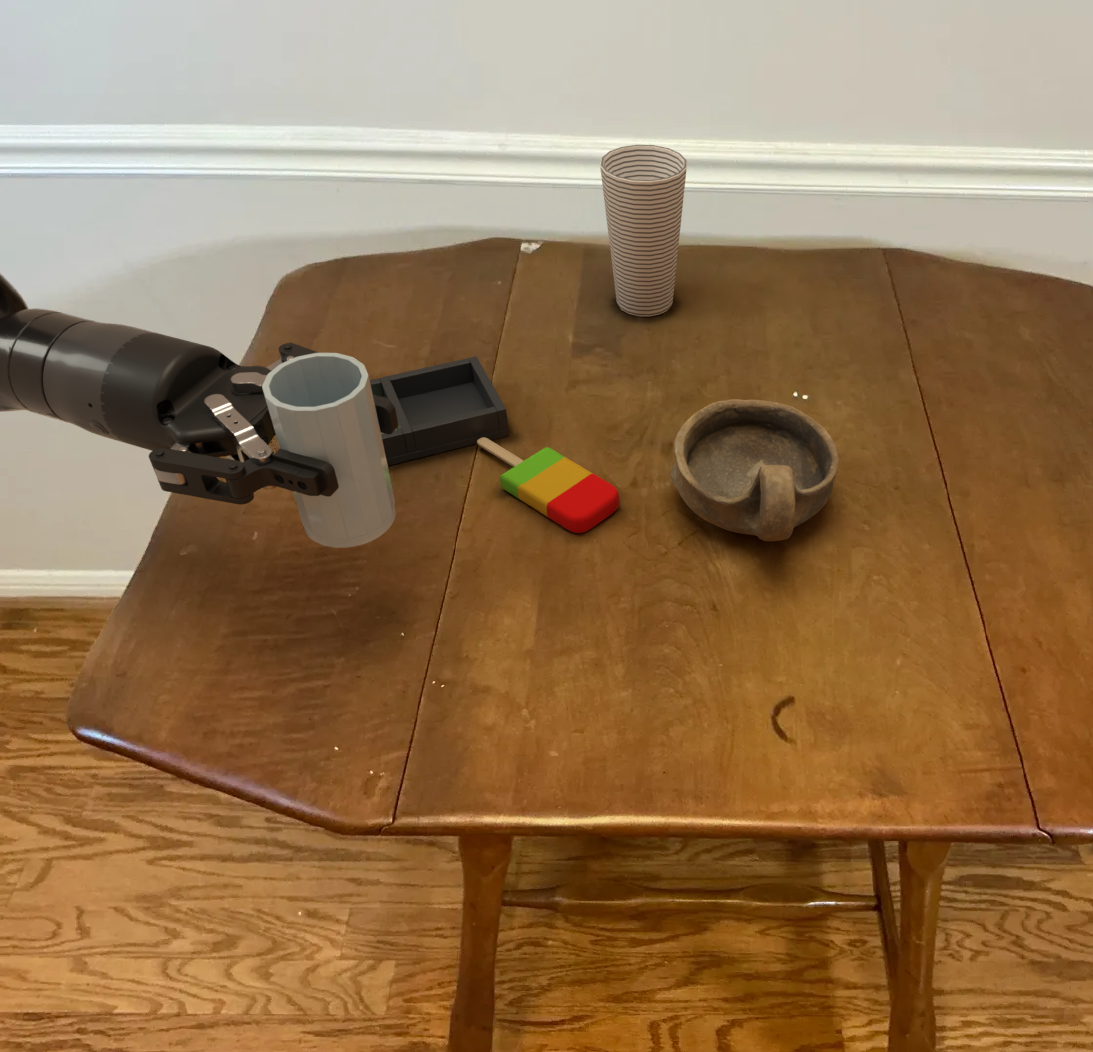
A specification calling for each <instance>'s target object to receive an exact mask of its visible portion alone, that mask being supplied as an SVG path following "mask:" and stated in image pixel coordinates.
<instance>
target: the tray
mask: <svg viewBox="0 0 1093 1052" xmlns="http://www.w3.org/2000/svg"><path fill="white" fill-rule="evenodd" d="M369 380H370V384H371V389H372V394H373V395H377V396H381V397H385V398H387V399H389V400H390V401H391V403H392V404H393V405H394V407H395V410H396V415H397V420H398V427H397V428H396V429H395V431H394V432H393V433H392V434H385V433H381V436H382V441H383V446H384V451H385V455H386V460H387V465H388V467H390V466H393V465H396V464H400V463H405V462H409V461H413V460H417V459H420V458H424V457H429V456H433V455H437V454H441V453H446V452H449V451H454V450H458V449H461V448H465V447H469V446H473V445H478V444H477V440H478V439H480V438H482V437H485V438H487V439H489V440H491V441H492V440H493V441H494V440H496V439H501V438H505V437H508V436H509V435H510V432H509V421H508V415H507V408H506V407H505V405H504V402H503V401H502V399H501V398H500V395H499V394H498V392H497V390H496V389H495V387H494V385H493V383H492V381H491V379H490V378H489V376H488V374H487V372H486V371H485V369H484V367H483V365H482V364H481V362H480V360H479V358H478V356H476V355H475V356H472V357H468V358H467V357H466V358H463V359H462V358H461V359H459V360H454V361H448V362H444V363H440V364H436V365H431V366H426V367H422V368H417V369H413V370H408V371H403V372H400V373H399V372H398V373H395V374H391V375H386V376H382V377H377V378H373V379H369Z"/></svg>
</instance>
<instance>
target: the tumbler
mask: <svg viewBox="0 0 1093 1052" xmlns="http://www.w3.org/2000/svg"><path fill="white" fill-rule="evenodd" d="M370 380H371V379H370V375H369V373H368V370H367V368H366V366H365V364H364V363H362V362H361V361H359V360H358V359H356V358H355V357H353V356H351V355H347V354H343V353H338V352H319V353H313V354H308V355H303V356H298V357H295V358H293V359H291V360H288V361H286V362H284V363H282V364H280V365H278V366H277V367H276V368H275V369H273V370H272V371H271V372H270V373H269V374H268V375H267V376H266V378H265V381H264V383H263V385H262V389H263V392H264V396H265V399H266V403H267V406H268V409H269V413H270V416H271V420H272V423H273V426H274V430H275V433H276V435H275V437H276V440H277V443H278V446H279V449H283V450H286V451H290V452H292V453H296V454H300V455H303V456H308V457H311V458H315V459H319V460H322V461H326V462H328V463H330V464H331V465H332V466H333V467H334V470H335V473H336V477H337V481H338V485H339V488H338V489H337V490H336V491H335V493H334V494H333V495H332V496H330V497H327V496H323V495H319V496H308V495H305V494H302V493H298V492H296V491H295V492H294V491H292V494H293V498H294V501H295V504H296V508H297V511H298V514H299V518H300V520H301V521H300V522H301V524H302V527H303V530H304V533H305V535H307V537H308V538H309V539H311V540H312V541H313V542H315V543H317V544H318V545H321V546H323V547H328V548H335V549H346V548H347V549H348V548H355V547H359V546H362V545H366V544H369V543H370V542H373V541H375V540H377V539H378V538H380V537H381V536H383V535H384V534H385V533H386V532H388V530H389V529H390V528H391V527H392V526H393V524H394V522H395V519H396V517H397V506H396V497H395V494H394V489H393V483H392V480H391V474H390V470H389V466H388V465H387V460H386V455H385V451H384V446H383V441H382V436H381V432H380V427H379V422H378V418H377V413H376V408H375V403H374V399H373V394H372V389H371V384H370Z"/></svg>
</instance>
